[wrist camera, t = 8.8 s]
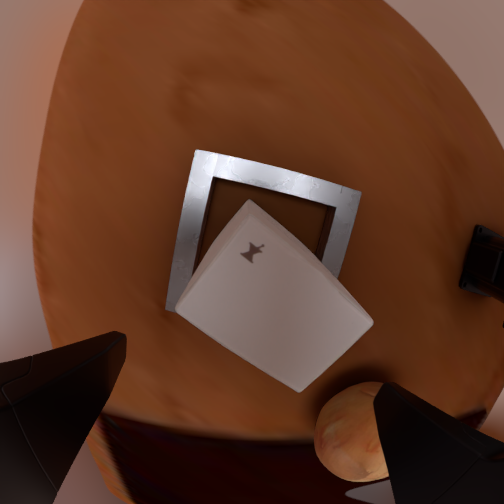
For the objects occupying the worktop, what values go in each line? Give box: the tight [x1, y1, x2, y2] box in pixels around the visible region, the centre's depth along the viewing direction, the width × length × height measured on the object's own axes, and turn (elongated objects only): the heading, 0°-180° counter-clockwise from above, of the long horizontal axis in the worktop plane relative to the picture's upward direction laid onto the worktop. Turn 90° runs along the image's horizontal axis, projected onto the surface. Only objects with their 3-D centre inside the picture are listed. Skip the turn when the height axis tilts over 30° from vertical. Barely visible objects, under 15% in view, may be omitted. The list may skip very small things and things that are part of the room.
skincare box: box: [175, 199, 373, 392], centre depth 15 cm, size 6×4×12 cm
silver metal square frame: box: [165, 149, 362, 313], centre depth 20 cm, size 11×11×2 cm
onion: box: [314, 382, 389, 482], centre depth 19 cm, size 10×10×10 cm
